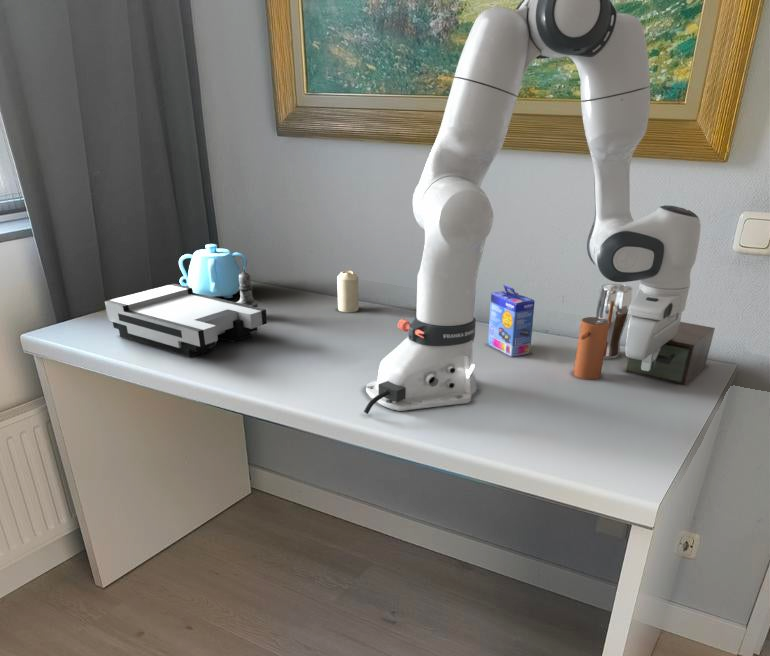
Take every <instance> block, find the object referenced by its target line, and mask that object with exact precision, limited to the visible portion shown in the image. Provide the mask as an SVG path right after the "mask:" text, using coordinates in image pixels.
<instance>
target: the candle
mask: <svg viewBox="0 0 770 656" xmlns="http://www.w3.org/2000/svg"><path fill="white" fill-rule="evenodd" d="M336 280H337V281H336V285H337V309H338V311H339V312H342V313H355V312H357V311H359V307H360V305H359V304H360V303H359V276H358V275H357V274H356V273H355V272H353V271H352V270H350V269H349V270H343V271H341V272H340V273H339V274H338V275H337V277H336Z"/></svg>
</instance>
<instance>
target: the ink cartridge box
mask: <svg viewBox="0 0 770 656" xmlns="http://www.w3.org/2000/svg"><path fill="white" fill-rule="evenodd" d="M503 288H504V290H502V291H494V292H491V293H490V295H491V296H490V307H489V322H488V323H489V324H488V335H487V337H488V339H487V345H488V346H490V347H492V348H494V349H496V350H498V351H499V352H501V353H504V354H505V355H507V356H508V357H512V358H513V357H517V356H523V355H530V354H531V349H532V348H531V347H532V337H533V336H532V335H533V327H534V325H533V323H534V313H535V302H536V301H535V300H534V299H533V298H530V297H528V296H525V295H521V294H519V293H518V292H516V291H515V288H514V287H511V286H508V285H505V284H503Z"/></svg>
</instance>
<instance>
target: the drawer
mask: <svg viewBox="0 0 770 656" xmlns="http://www.w3.org/2000/svg"><path fill="white" fill-rule="evenodd" d="M689 350H690V348H688V347H683V346H678V345H673V344H668V343H665V344H664V345H663V346H661V349H660V352H659V354H658V356H657V359H656V362H655V366H654V367H653V368H652V369H650V370H649V371H644V370H642V369H641V365H642V360H638V359H633V358H630V359H629V358H628V359H629V365H628V370H629V371H633V372H638V373H642V374H647V375H651V376H656V377H660V378H665V379H669V380H674V381H678V382H681V381H682V380H683V376H684V372H685V367H686V363H687V359H688V355H689Z"/></svg>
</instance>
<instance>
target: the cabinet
mask: <svg viewBox="0 0 770 656" xmlns="http://www.w3.org/2000/svg"><path fill="white" fill-rule="evenodd" d="M715 329H716V328H715V327H711V326H706V325H700V324H696V323H690V322H685V321H684V322H683V321H680V325H679V330H678V332H677V335H676V336H675V337H673V338H672V339H671V340H669V341H668V342H667V343H668V344H673V345H678V346H683V347H688V348H690V350H689V355H688V359H687V363H686V367H685V372H684V376H683V380H682V381H681V382H678V381H674V380H669V379H665V378H660V377H656V376H651V375H647V374H642V373H638V372H633V371H629V370H628V365H629V359H630V358H629V357H628V360H627V365H626V369H625V372H626V373H629V374H633V375H634V374H635V375H638V376H642V377H647V378H651V379H657V380H661V381H665V382H670V383H674V384H679V385H683V386H685V385H686V384H687V383H689V381H691V380H692V379H693V378H694V377H695V376H696V375H697V374H699V372H700V371H701V370H703V368H705V367H706V366H707V365H706V364H707V361H708V357H709V353H710V349H711V345H712V341H713V337H714V333H715V331H716V330H715Z"/></svg>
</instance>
